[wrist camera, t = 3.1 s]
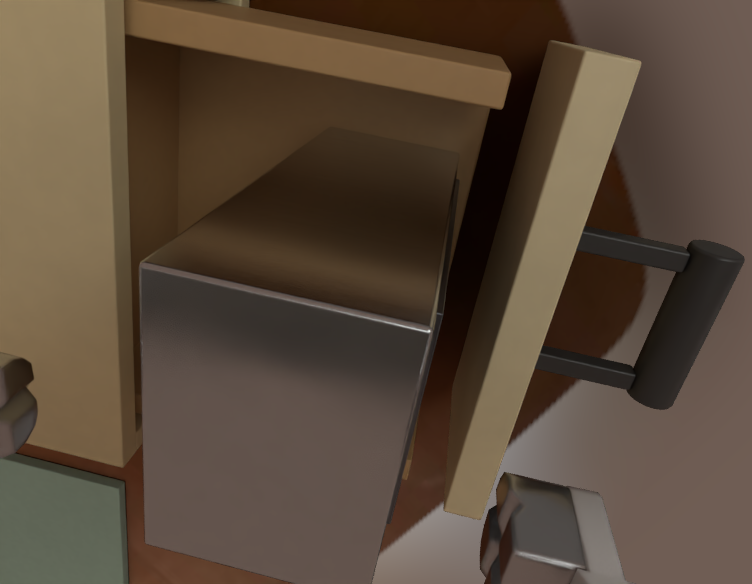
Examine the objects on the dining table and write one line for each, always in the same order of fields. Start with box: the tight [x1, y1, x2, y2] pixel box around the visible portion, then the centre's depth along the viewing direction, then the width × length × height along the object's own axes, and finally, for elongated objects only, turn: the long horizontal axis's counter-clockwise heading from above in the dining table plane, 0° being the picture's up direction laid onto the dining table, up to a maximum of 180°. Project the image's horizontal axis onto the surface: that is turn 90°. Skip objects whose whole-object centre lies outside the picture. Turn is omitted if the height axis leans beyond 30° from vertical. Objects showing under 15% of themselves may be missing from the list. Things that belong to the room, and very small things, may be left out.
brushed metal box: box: [139, 126, 460, 584], centre depth 15 cm, size 5×6×12 cm
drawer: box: [124, 0, 744, 520], centre depth 18 cm, size 18×13×7 cm
